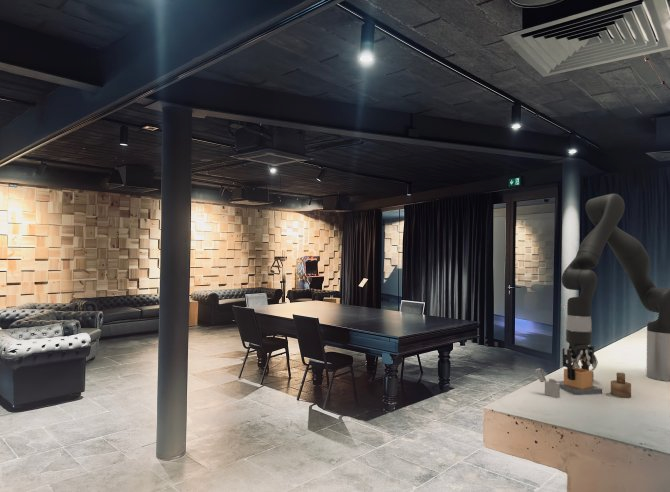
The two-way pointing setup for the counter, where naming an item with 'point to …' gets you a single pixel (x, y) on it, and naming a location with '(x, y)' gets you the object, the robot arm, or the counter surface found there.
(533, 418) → the counter surface
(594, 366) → the watch
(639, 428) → the counter surface
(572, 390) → the gray square plate
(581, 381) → the orange square tube
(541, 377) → the lighter
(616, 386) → the stand
